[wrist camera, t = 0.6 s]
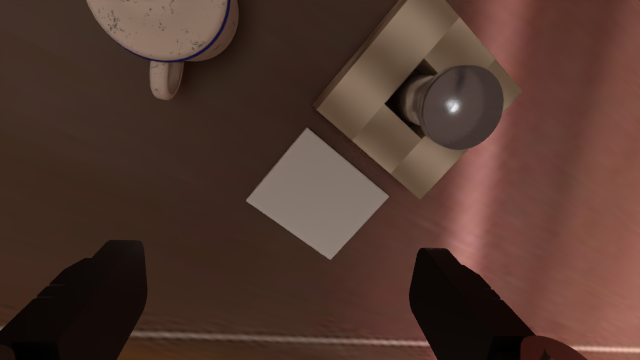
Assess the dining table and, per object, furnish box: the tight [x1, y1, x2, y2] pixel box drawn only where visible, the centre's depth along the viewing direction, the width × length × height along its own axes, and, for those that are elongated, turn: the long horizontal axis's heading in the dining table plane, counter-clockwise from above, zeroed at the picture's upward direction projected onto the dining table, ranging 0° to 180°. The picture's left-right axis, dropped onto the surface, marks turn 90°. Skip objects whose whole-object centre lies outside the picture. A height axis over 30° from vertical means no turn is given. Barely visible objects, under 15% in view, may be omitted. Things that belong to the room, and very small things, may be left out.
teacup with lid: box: [86, 0, 239, 100], centre depth 25 cm, size 12×9×12 cm
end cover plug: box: [386, 65, 504, 150], centre depth 29 cm, size 6×6×11 cm
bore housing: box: [312, 0, 523, 199], centre depth 33 cm, size 14×14×4 cm
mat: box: [246, 127, 389, 260], centre depth 37 cm, size 10×12×1 cm
